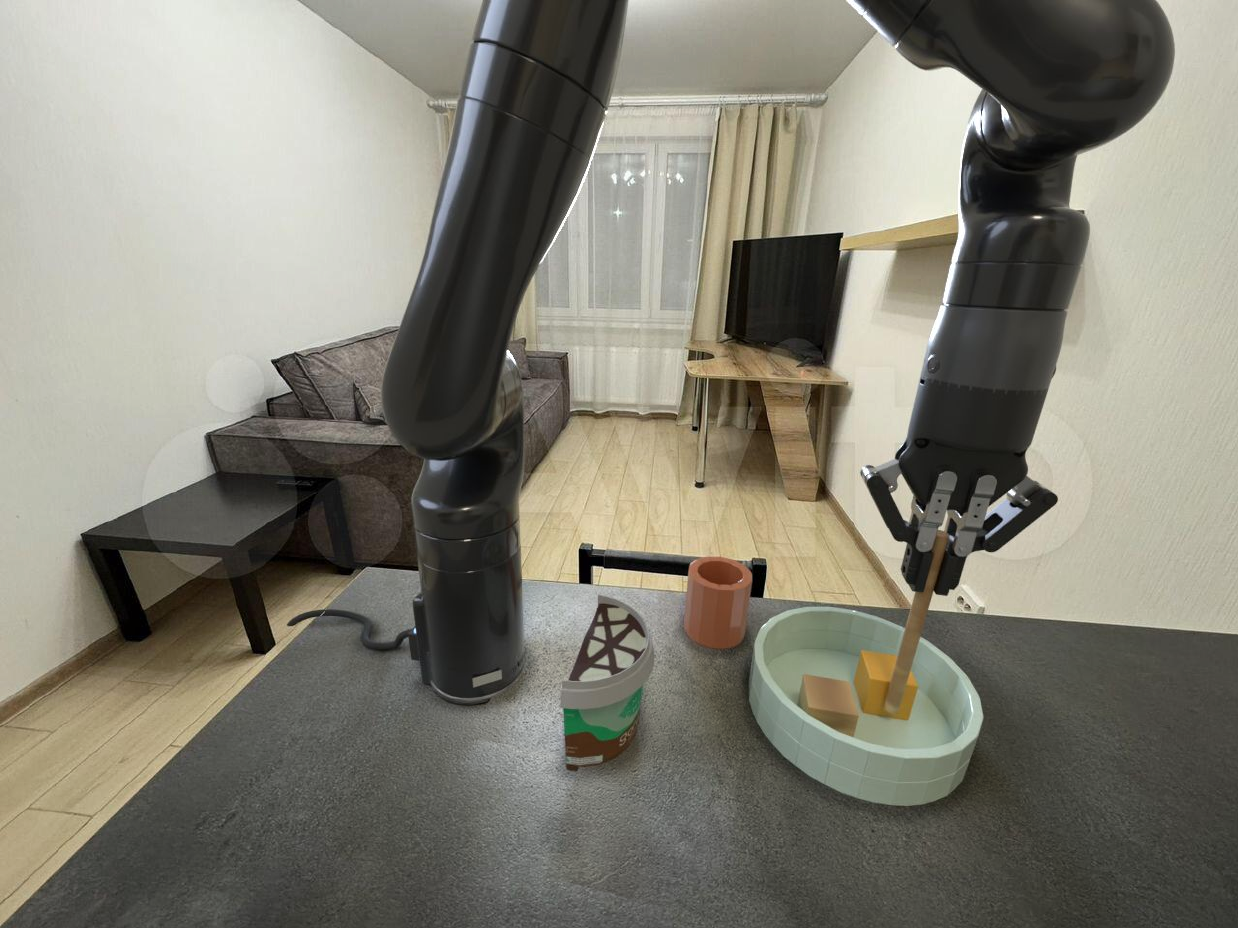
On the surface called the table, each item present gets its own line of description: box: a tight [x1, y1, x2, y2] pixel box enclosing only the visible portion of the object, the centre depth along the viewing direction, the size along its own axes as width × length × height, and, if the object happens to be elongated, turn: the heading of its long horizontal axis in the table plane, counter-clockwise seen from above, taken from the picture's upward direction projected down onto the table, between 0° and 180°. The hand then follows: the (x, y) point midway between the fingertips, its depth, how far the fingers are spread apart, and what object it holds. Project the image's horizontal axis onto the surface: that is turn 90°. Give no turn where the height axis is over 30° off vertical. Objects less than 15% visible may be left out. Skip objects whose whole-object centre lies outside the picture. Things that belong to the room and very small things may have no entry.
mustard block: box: [854, 650, 918, 721], centre depth 49 cm, size 4×4×4 cm
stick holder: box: [683, 556, 753, 650], centre depth 58 cm, size 7×7×8 cm
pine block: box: [797, 674, 859, 738], centre depth 46 cm, size 4×4×4 cm
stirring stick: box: [884, 529, 949, 714], centre depth 44 cm, size 1×1×18 cm
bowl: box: [748, 606, 985, 807], centre depth 48 cm, size 19×19×6 cm
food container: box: [559, 594, 656, 772], centre depth 45 cm, size 12×6×10 cm, turn 168°
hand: (925, 587), depth 42 cm, fingers closed on stirring stick, 1 cm apart
